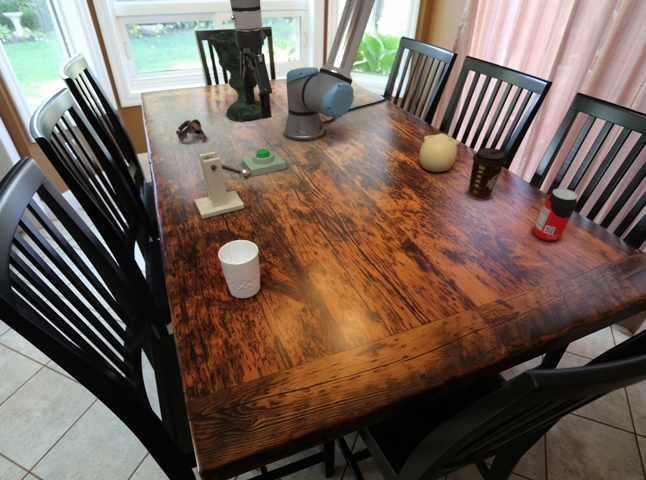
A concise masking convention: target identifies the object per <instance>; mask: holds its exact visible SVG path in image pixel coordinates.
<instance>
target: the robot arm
mask: <svg viewBox="0 0 646 480" xmlns="http://www.w3.org/2000/svg"><path fill="white" fill-rule="evenodd" d="M375 2H376V0H345V4H344V7H343V10H342V13H341V16H340V20H339V23H338V27H337V29H336V32H335V35H334V38H333V42H332V45H331V48H330V51H329V54H328V58H327V61H326V64H325V65H322V66H320V68H318V67H314V66H308V67H307V66H306V67H298V68H294V69H290V70H289V71H288V72H287V73H286V79H285V80H286V81H285V85H286V96H287V110H288V114H287V118H286V123H285V127H284V135H285V137H286V138H288V139H290V140H294V141H300V142H302V141H314V140H317V139H320V138H321V137H323V136H324V133H325V127H324V124H329V123H331V122H333V121H334V120H336V119H338V118H341V117H343V116H344V115H345V114H347V113H348V112H350V111H353V110H357V109H361V108H366V107H370V106H374V105H378V104H380V103H383V102H385V101H387V100H388V99H389V98H390V97H391V93H387V95H386V97H385V98H383V99H380V100H377V101H373V102H370V103H365V104H363V105H357V106H353V107H352V105H353V103H354V99H355V94H354V92H355V91H354V88H353V86H352V83H353V77H352V75H351V73H352V69H353V66H354V64H355V61H356V57H357V55H358V52H359V49H360V47H361V43H362V40H363V37H364V34H365V31H366V28H367V25H368V22H369V19H370V16H371V14H372V11H373V9H374V8H373V7H374V5H375ZM229 3H230V7H231V15H230V19H231V21H233V28H234V29H235V30H234V31H235V38H236V45H237V46H238V47H239V49H240V77H241V78H242V80H243V82H244V90H245V97H246V104H247V105H252V104H256V103H255V100H256V96H255V90H254V89H255V87H254V88H253V82H252V81H251V80H253V77H252V72H253V73H254V76H255V79H256V82H257V85H256V86H257V88H258V91H259V92H258V94H257V96H258V98H259V102H260V106H261V114H262V117H261V119H262V120H264V119H265V120H266V119H270V118H272V117H273V116H272V108H271V98H270V97H271V96H270V95H271V94H273V89H272V85H271V84H272V83H271V80H270V77H269V76H270V75H269V73H268V68H267V64H266V57H265V54H264V53H262V52H261V54H260V53H259V47H261V46H262V47H263V46H264V45H265V40H264V36H263V33H264V30H263V29H262V28H263V26H264V25H263V15H262V7H261V0H229ZM321 115H322V116H325V117H326V118H327V117H328V118H330V119H328V120H322V118H321Z"/></svg>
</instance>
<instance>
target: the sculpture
mask: <svg viewBox="0 0 646 480" xmlns="http://www.w3.org/2000/svg"><path fill="white" fill-rule="evenodd" d="M459 145H460V141H458V140H457V139H456V138H455V139H454V138H453V137H450V136H448V135H447V134H446V133H438V134H432V135H431V134H430V135H425V136H423V142H422V144H421V146H420V150H419V153H418V160H419V164H420V166H421V167H422V168H423V169H424V170H425V171H429V172H431V173H442V172H445V171H448V170H449V169H450V168H451V167H452V166H453V165H454V163H455V161H456V158H457V156H458V146H459Z"/></svg>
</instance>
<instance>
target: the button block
mask: <svg viewBox="0 0 646 480" xmlns="http://www.w3.org/2000/svg"><path fill="white" fill-rule="evenodd" d="M241 163H242V165H243V168H248V169H249V170H250V172H251V176H250V177H254V176H259V175H264V174H269V173H272V172H277V171H282V170H286V169H287V162H286V161H285V160H284V158H282V156H280V154H279V153H277V151H275V150H273V151H270V150H269V156H268V157H266V158H258V157H257V152H256V151H255V152H253V153H252V155H250V156H243V157H241Z"/></svg>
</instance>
